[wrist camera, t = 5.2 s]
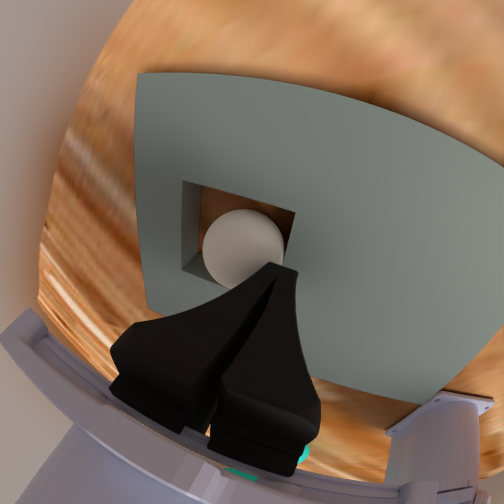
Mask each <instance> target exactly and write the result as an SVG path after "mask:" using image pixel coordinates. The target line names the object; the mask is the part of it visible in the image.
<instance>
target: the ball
mask: <svg viewBox="0 0 504 504" xmlns="http://www.w3.org/2000/svg"><path fill="white" fill-rule="evenodd" d="M284 255H285V246H284V240H283V237H282V234H281V232H280V230H279V228H278V227H277V226H276V224H275V223H274V222H273V221H272V220H271V219H270V218H269V217H267V216H266V215H264V214H262V213H260V212H257V211H254V210H249V209H238V210H233V211H230V212H227V213H225V214H223V215H222V216H220V217H219V218H218V219H216V220H215V221H214V222H213V223H212V225H211V226H210V227H209V229H208V231H207V233H206V235H205V238H204V241H203V259H204V263H205V266H206V268H207V270H208V272H209V273H210V274H211V276H212V277H213V278H214V279H215V280H216V281H217V282H218V283H219V284H221V285H223V286H224V287H226V288H229V289H232V288H234V287H236V286H237V285H239V284H240V283H242V282H243V281H244V280H246V279H247V278H249V277H250V276H252V275H253V274H254V273H255V272H257V271H258V270H259V269H260V268H262V267H263V266H264V265H265V264H266V263H268V262H273V263H276V264H279V265H282V264H283V260H284Z"/></svg>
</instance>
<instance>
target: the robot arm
mask: <svg viewBox="0 0 504 504" xmlns="http://www.w3.org/2000/svg"><path fill="white" fill-rule="evenodd" d="M297 277H298V272H297V271H296V270H293V269H290V268H287V267H285V266H282V265H279V264H276V263H273V262H268V263H266V264H265V265H264V266H263V267H262V268H260V269H259V270H258V271H257V272H255V273H254V274H253V275H252V276H250V277H249V278H247V279H246V280H244V281H243V282H242V283H240V284H239V285H237V286H236V287H234V288H232V289H231V290H229V291H227V292H226V293H224V294H222V295H220V296H218V297H217V298H215V299H213V300H211V301H208V302H206V303H204V304H202V305H199V306H197V307H194V308H192V309H189V310H187V311H184V312H180V313H177V314H174V315H170V316H167V317H163V318H159V319H154V320H148V321H142V322H136V323H134V324H133V325H131V326H130V327H129V328H128V329H127V330H126V331H125V332H124V333H123V334H122V335H121V336H120V337H119V338H118V339H117V341H116V342H115V343H114V344H113V345H112V346H111V348H110V354H111V357H112V359H113V361H114V364H115V366H116V368H117V370H118V372H119V375H118V376H117V377H116V379H115V380H114V381H113V382H111V381H109V380H108V379H107V378H105V377H104V376H102V375H101V374H100V373H98V372H97V371H96V370H94V369H93V368H92V367H90V366H89V365H88V364H86V363H85V362H84V361H83V360H81V359H80V358H79V357H78V356H76V355H75V354H74V353H73V352H72V351H70V350H69V349H68V348H67V347H66V346H64V345H63V344H62V343H61V342H60V341H59V340H58V339H56V338H55V337H54V336H53V335H52V334H51V333H50V332H49V331H48V328H47V326H46V325H45V323H44V321H43V320H42V319H41V318H40V317H39V316H38V315H37V314H36V313H35V312H34V311H33V310H32V309H31V308H28V309H27V310H25V311H24V312H23V313H22V314H21V315H20V316H19V317H18V318H17V319H16V320H15V321H14V322H13V323H11V324H10V325H9V326H8V327H7V328H6V329H5V330H4V331H3V332H2V333H1V334H0V343H1V344H2V346H3V347H4V348H5V350H6V351H7V352H8V354H9V355H10V356H11V357H12V359H13V360H14V361H15V363H16V364H17V365H18V366H19V367H20V369H21V370H22V371H23V372H24V373H25V375H26V376H27V377H28V378H29V379H30V380H31V381H32V382H33V384H34V385H35V386H36V387H37V388H38V389H39V390H40V391H41V392H42V393H43V394H44V395H45V396H46V397H47V398H48V399H49V400H50V401H51V402H52V403H53V404H54V405H55V406H56V407H57V408H58V409H59V410H60V411H61V412H62V413H63V414H64V415H66V416H67V417H68V418H69V419H70V420H71V421H72V422H74V425H73V426H72V428H71V429H70V430H69V431H68V432H67V434H66V435H65V436H64V438H63V439H62V440H61V442H60V443H59V445H58V446H57V447H56V448H55V450H54V451H53V452H52V453H51V455H50V456H49V458H48V459H47V460H46V462H45V463H44V464H43V466H42V467H41V468H40V470H39V471H38V472H37V474H36V475H35V477H34V478H33V479H32V481H31V482H30V484H29V485H28V486H27V488H26V489H25V491H24V492H23V494H22V495H21V496H20V498H19V499H18V500H17V502H16V503H15V504H491V496H490V494H489V493H488V492H486V490H482V491H481V490H480V489H478V477H479V455H480V440H479V416H480V415H481V414H483V413H484V412H485V411H487V410H488V409H489V408H491V407H492V406H493V405H494V404H495V402H494V400H493V399H486V398H480V397H474V396H468V395H462V394H457V393H452V392H447V391H440V392H438V393H436V394H435V395H434V396H433V397H431V398H430V399H429V400H428V401H426V402H425V403H424V404H423V405H421V406H420V407H419V408H418V409H416V410H415V411H414V412H412V413H411V414H410V415H408V416H407V417H406V418H404V419H403V420H401V421H400V422H398V423H397V424H396V425H394V426H393V427H391V428H390V429H388V430H387V431H386V432H385V435H386V436H391V437H392V438H391V445H390V452H389V458H388V464H387V469H386V474H385V479H384V484H380V483H370V482H362V481H355V480H349V479H343V478H337V477H332V476H327V475H322V474H318V473H313V472H309V471H305V470H301V469H297V468H296V466H297V464H298V461H299V458H300V457H301V456H302V455H303V452H304V449H305V446H306V445H307V444H308V443H310V442H311V441H312V440H314V439H315V438H316V437H317V435H318V433H319V429H320V421H321V402H320V399H319V397H318V395H317V393H316V390H315V388H314V385H313V383H312V380H311V377H310V375H309V372H308V369H307V365H306V362H305V358H304V355H303V351H302V347H301V342H300V337H299V332H298V325H297V316H296V282H297ZM118 408H119V409H118ZM120 410H122V411H123V412H125V413H126V414H128V415H129V416H131V417H132V418H134V419H135V420H137V421H139V422H140V423H142V424H144V425H145V426H147V427H149V428H150V429H152V430H154V431H155V432H157V433H159V434H161V435H162V436H164V437H166V438H168V439H170V440H172V441H174V442H175V443H177V444H179V445H181V446H183V447H185V448H188V449H190V450H191V451H194V452H196V453H198V454H200V455H202V456H205V457H207V458H209V459H211V460H214V461H216V462H218V463H221V464H223V465H225V466H228V467H231V468H233V469H236V470H238V471H241V472H244V473H247V474H250V475H253V476H256V477H259V478H258V479H256V481H255V482H253V481H251V480H248V479H246V478H243V477H241V476H239V475H236V474H234V473H232V472H229V471H227V470H225V469H223V468H221V467H218V466H216V465H215V464H213V463H212V462H210V461H208V460H207V459H205V458H203V457H201V456H199V455H197V454H195V453H193V452H191V451H189V450H187V449H185V448H183V447H181V446H179V445H177V444H175V443H174V442H172V441H170V440H168V439H166V438H164V437H162V436H161V435H159V434H157V433H155V432H154V431H152V430H150V429H149V428H147V427H145V426H143V425H142V424H140V423H139V422H137V421H135V420H134V419H132V418H131V417H129V416H128V415H126V414H124V413H123V412H122V411H120ZM210 424H211V426H210V437H208V436H206V435H205V433H206V431H207V429H208V427H209V425H210Z"/></svg>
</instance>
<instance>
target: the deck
mask: <svg viewBox="0 0 504 504" xmlns="http://www.w3.org/2000/svg"><path fill="white" fill-rule="evenodd" d="M134 169H135V195H136V212H137V225H138V236H139V246H140V255H141V263H142V271H143V278H144V285H145V292H146V298H147V304H148V308H149V309H151V310H153V311H155V312H157V313H159V314H161V315H163V316H165V317H167V316H170V315H174V314H177V313H180V312H184V311H187V310H189V309H192V308H194V307H197V306H199V305H202V304H204V303H206V302H208V301H211V300H213V299H215V298H217V297H218V296H220V295H222V294H224V293H226V292H227V291H229V290H231V289H229V288H226V287H224V286H223V285H221V284H219V283H218V282H217V281H216V280H215V279H214V278H213V277H212V276H211V274H210V273H209V272H208V270H207V268H206V266H205V263H204V259H203V254H200V253H198V244H199V223H200V205H201V190H202V185H203V186H207V187H211V188H214V189H218V190H222V191H225V192H229V193H232V194H236V195H239V196H243V197H246V198H250V199H253V200H257V201H260V202H263V203H267V204H270V205H273V206H277V207H280V208H283V209H286V210H290V211H293V212H296V213H295V217H294V221H293V225H292V229H291V233H290V237H289V241H288V245H287V249H286V252H285V256H284V260H283V264H282V266H285V267H287V268H290V269H293V270H296V271H297V272H298V277H297V282H296V316H297V325H298V332H299V337H300V342H301V347H302V351H303V355H304V358H305V362H306V365H307V369H308V372H309V375H310V376H312V377H315V378H319V379H322V380H325V381H328V382H332V383H335V384H338V385H342V386H345V387H349V388H352V389H356V390H360V391H363V392H367V393H371V394H375V395H379V396H383V397H387V398H391V399H396V400H400V401H405V402H410V403H415V404H420V405H422V404H424V403H425V402H426V401H427V400H429V399H430V398H431V397H432V396H434V395H435V394H436V393H437V392H438V391H439V390H441V389H442V388H443V387H444V386H445V385H446V384H447V383H449V382H450V381H451V380H452V379H453V378H454V377H455V376H456V375H457V374H458V373H459V372H460V371H461V370H462V369H463V368H464V367H465V366H466V365H467V364H468V363H469V362H470V361H471V360H472V359H473V358H474V357H475V356H476V355H477V354H478V353H479V352H480V351H481V350H482V349H483V348H484V346H485V345H486V344H487V343H488V342H489V341H490V340H491V339H492V337H493V336H494V335H495V334H496V333H497V331H498V330H499V329H500V328H501V327H502V325H503V324H504V167H502V166H501V165H499V164H498V163H496V162H494V161H493V160H491V159H490V158H488V157H486V156H485V155H483V154H481V153H479V152H478V151H476V150H474V149H472V148H471V147H469V146H467V145H465V144H463V143H461V142H460V141H458V140H456V139H454V138H452V137H450V136H448V135H446V134H444V133H442V132H439V131H437V130H435V129H433V128H431V127H429V126H426V125H424V124H422V123H419V122H417V121H415V120H412V119H410V118H407V117H405V116H402V115H400V114H397V113H394V112H392V111H389V110H386V109H384V108H381V107H378V106H375V105H372V104H369V103H366V102H362V101H359V100H356V99H353V98H349V97H346V96H342V95H338V94H335V93H331V92H327V91H323V90H319V89H314V88H310V87H305V86H300V85H295V84H290V83H285V82H279V81H273V80H266V79H259V78H252V77H244V76H234V75H223V74H208V73H140V74H138V75H137V87H136V102H135V128H134Z"/></svg>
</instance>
